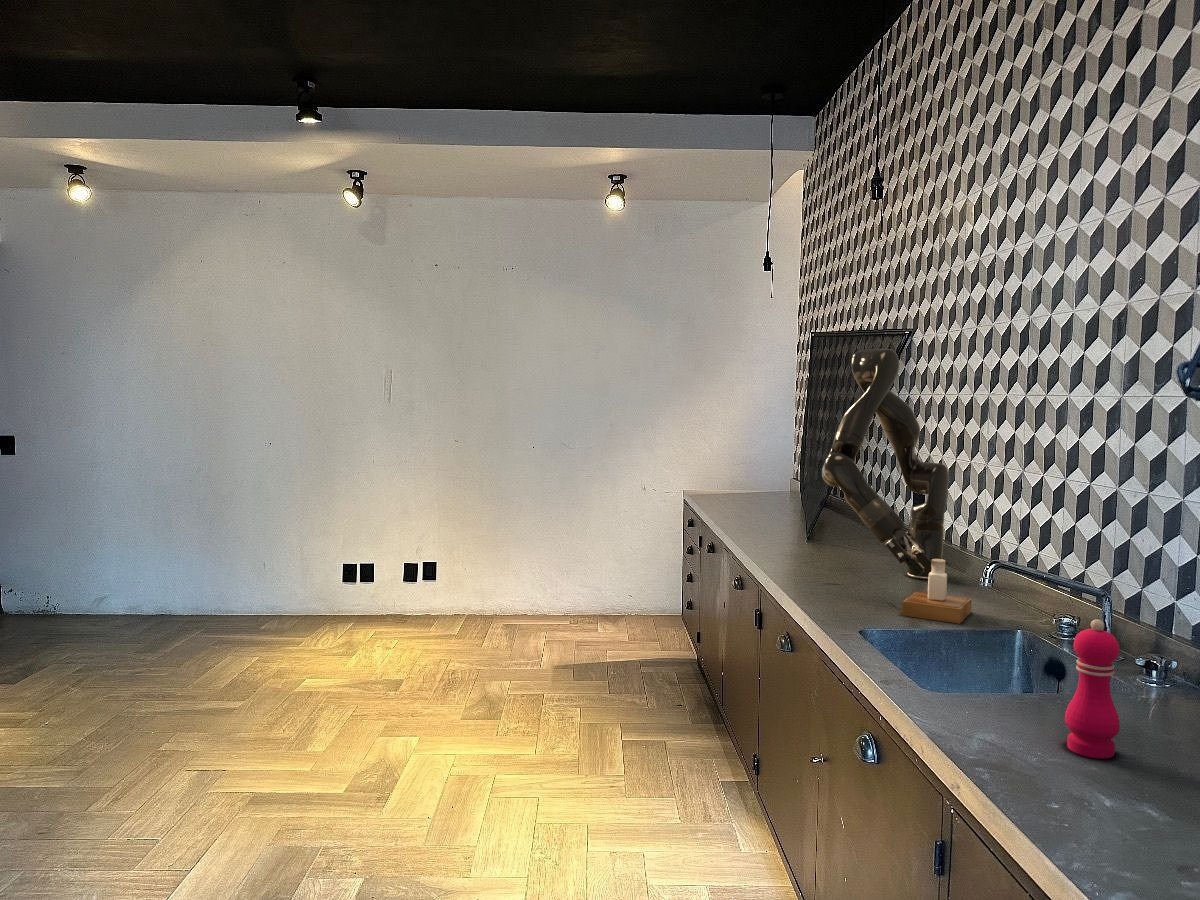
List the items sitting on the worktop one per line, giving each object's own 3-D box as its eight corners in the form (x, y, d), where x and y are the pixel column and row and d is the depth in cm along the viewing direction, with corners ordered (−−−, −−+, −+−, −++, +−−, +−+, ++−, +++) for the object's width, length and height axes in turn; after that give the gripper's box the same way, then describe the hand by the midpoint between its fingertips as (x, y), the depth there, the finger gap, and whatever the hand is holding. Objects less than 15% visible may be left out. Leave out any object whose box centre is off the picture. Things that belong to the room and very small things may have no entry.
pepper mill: (1053, 741, 139) (1060, 613, 138) (1098, 740, 140) (1105, 613, 139) (1082, 761, 132) (1089, 626, 131) (1129, 760, 133) (1137, 625, 131)
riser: (916, 605, 228) (916, 590, 227) (970, 612, 221) (971, 597, 220) (902, 615, 217) (903, 600, 216) (959, 623, 210) (960, 608, 209)
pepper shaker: (946, 598, 219) (948, 559, 219) (945, 601, 216) (946, 562, 215) (928, 596, 221) (930, 557, 220) (927, 599, 218) (928, 560, 217)
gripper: (882, 512, 218) (929, 565, 212) (900, 506, 230) (945, 557, 224) (860, 532, 221) (906, 585, 216) (878, 525, 233) (922, 575, 227)
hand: (926, 570), depth 220 cm, fingers open, 8 cm apart
